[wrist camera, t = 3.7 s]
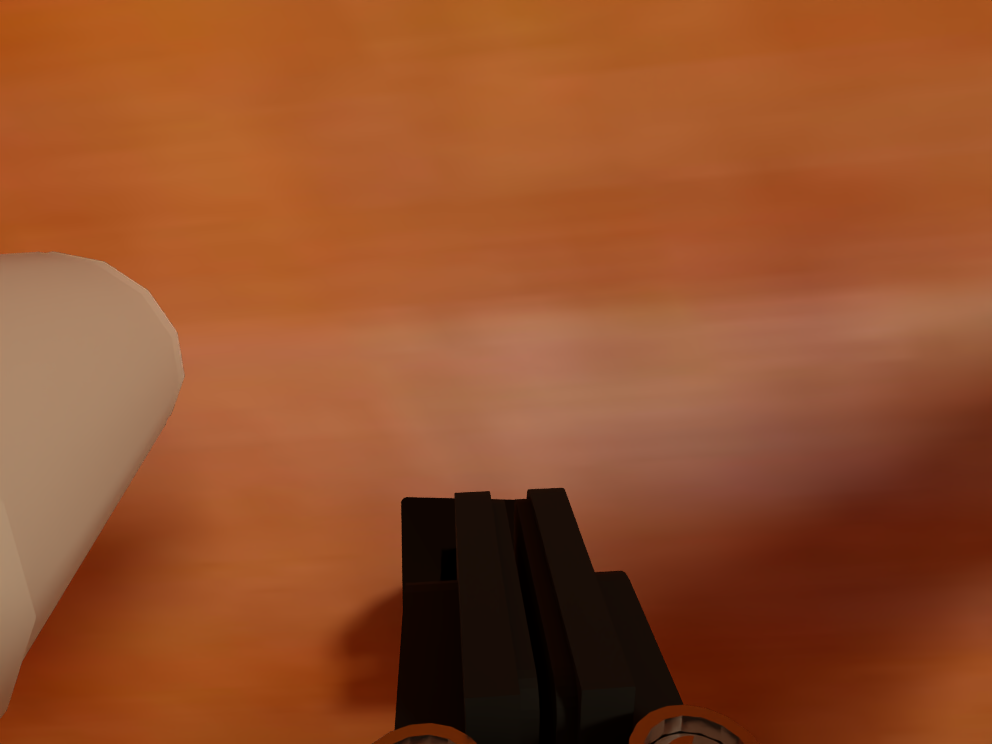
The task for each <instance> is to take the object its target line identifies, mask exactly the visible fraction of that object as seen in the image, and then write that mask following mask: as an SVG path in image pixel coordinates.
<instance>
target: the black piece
mask: <svg viewBox="0 0 992 744" xmlns="http://www.w3.org/2000/svg"><path fill="white" fill-rule="evenodd" d="M494 500H500V499H491V501H494ZM514 501H515V500H504V502H505V506H506V512H507V517H508V523H509V528H510V533H511V539H512V544H513V550H514ZM401 518H402V583H403V604H404V590H405V584H406V583H415V582H433V581H451V580H457V560H456V527H455V498H417V497H406V498H404V499H403V500H402V501H401Z"/></svg>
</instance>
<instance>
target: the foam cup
mask: <svg viewBox="0 0 992 744" xmlns="http://www.w3.org/2000/svg"><path fill="white" fill-rule="evenodd" d="M183 379H184V370H183V364H182V358H181V352H180V346H179V340H178V334H177V331H176V330H175V328H174V327H173V325H172V324H171V322H170V321H169V320H168V318H167V317H166V315H165V314H164V312H163V311H162V309H161V308H160V306H159V305H158V304H157V302H156V301H155V299H154V298H153V296H152V295H151V293H150V292H149V291H148V290H147V289H145V288H144V287H142V286H141V285H139V284H137V283H136V282H134V281H133V280H131V279H130V278H128V277H127V276H125V275H124V274H122V273H121V272H119V271H118V270H116V269H115V268H113V267H112V266H110V265H109V264H107V263H106V262H103V261H98V260H93V259H88V258H83V257H78V256H73V255H68V254H63V253H58V252H49V253H43V252H29V253H13V254H0V718H1V717H2V716H3V715H4V713H5V712H6V711H7V708H8V705H9V702H10V699H11V695H12V692H13V689H14V686H15V683H16V680H17V676H18V673H19V670H20V667H21V664H22V661H23V659H24V658H25V656H26V654H27V653H28V651H29V649H30V648H31V646H32V644H33V643H34V641H35V639H36V638H37V636H38V634H39V633H40V631H41V630H42V628H43V626H44V625H45V623H46V621H47V620H48V618H49V616H50V615H51V613H52V611H53V610H54V608H55V606H56V605H57V603H58V601H59V600H60V598H61V596H62V595H63V593H64V592H65V590H66V588H67V587H68V585H69V583H70V582H71V580H72V578H73V577H74V575H75V573H76V572H77V570H78V568H79V567H80V565H81V563H82V562H83V560H84V559H85V557H86V555H87V554H88V552H89V550H90V549H91V547H92V545H93V544H94V542H95V540H96V539H97V537H98V535H99V534H100V532H101V530H102V529H103V527H104V526H105V524H106V522H107V521H108V519H109V517H110V516H111V514H112V512H113V511H114V509H115V507H116V506H117V504H118V502H119V501H120V499H121V497H122V496H123V494H124V493H125V491H126V489H127V488H128V486H129V484H130V483H131V481H132V479H133V478H134V476H135V474H136V473H137V471H138V469H139V468H140V466H141V464H142V463H143V461H144V460H145V458H146V456H147V455H148V453H149V451H150V450H151V448H152V446H153V445H154V443H155V441H156V440H157V438H158V436H159V435H160V433H161V431H162V430H163V428H164V427H165V425H166V422H167V419H168V417H169V416H170V415H171V413H172V411H173V408H174V405H175V402H176V399H177V396H178V393H179V391H180V388H181V385H182V382H183Z"/></svg>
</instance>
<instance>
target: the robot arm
mask: <svg viewBox="0 0 992 744" xmlns="http://www.w3.org/2000/svg"><path fill="white" fill-rule="evenodd" d="M455 527H456V560H457V580H451V581H433V582H415V583H406V584H405V590H404V604H403V618H402V632H401V646H400V661H399V675H398V689H397V703H396V718H395V730H394V731H391V732H389V733H388V734H386V735H384V736H383V737H381V738H380V739H378V740H377V741H375V742H374V743H372V744H760V743H759V742H758V741H757V740H756V739H755V738H754V737H753V736H752V735H751V734H750V733H749V731H748V730H746V729H745V728H744V727H742V726H741V725H739V724H738V723H736V722H735V721H733V720H732V719H731V718H729V717H727V716H725V715H722V714H720V713H718V712H715V711H713V710H710V709H708V708H703V707H697V706H691V705H683V702H682V700H681V698H680V696H679V693H678V691H677V689H676V686H675V684H674V682H673V679H672V677H671V675H670V672H669V670H668V668H667V665H666V663H665V661H664V659H663V656H662V654H661V652H660V649H659V647H658V645H657V642H656V640H655V638H654V635H653V633H652V631H651V629H650V626H649V624H648V622H647V619H646V617H645V615H644V612H643V610H642V608H641V605H640V603H639V601H638V598H637V596H636V594H635V592H634V589H633V587H632V585H631V582H630V580H629V578H628V576H627V575H626V573H625V572H623V571H609V572H594V569H593V567H592V564H591V561H590V558H589V556H588V553H587V550H586V547H585V544H584V542H583V539H582V536H581V533H580V531H579V528H578V525H577V522H576V519H575V517H574V514H573V511H572V508H571V506H570V503H569V500H568V497H567V494H566V492H565V490H564V488H549V489H528V491H527V499H515V501H514V550H513V544H512V539H511V533H510V528H509V523H508V517H507V512H506V506H505V502H504V500H494V501H491V495H490V491H485V492H463V493H455Z"/></svg>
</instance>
